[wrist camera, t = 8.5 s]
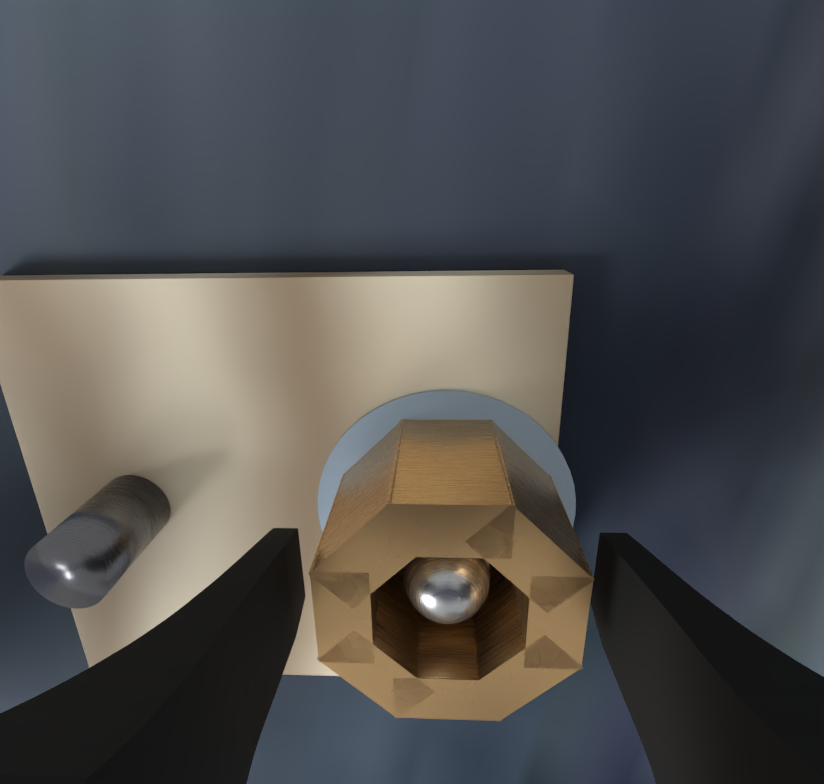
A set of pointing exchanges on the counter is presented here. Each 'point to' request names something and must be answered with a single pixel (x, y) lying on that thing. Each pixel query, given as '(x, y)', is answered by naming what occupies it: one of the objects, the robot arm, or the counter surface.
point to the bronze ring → (450, 538)
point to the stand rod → (97, 542)
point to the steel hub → (447, 587)
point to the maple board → (247, 400)
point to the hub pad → (444, 408)
